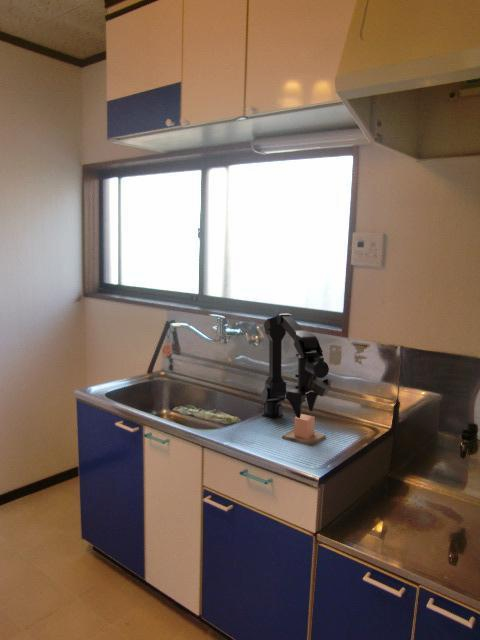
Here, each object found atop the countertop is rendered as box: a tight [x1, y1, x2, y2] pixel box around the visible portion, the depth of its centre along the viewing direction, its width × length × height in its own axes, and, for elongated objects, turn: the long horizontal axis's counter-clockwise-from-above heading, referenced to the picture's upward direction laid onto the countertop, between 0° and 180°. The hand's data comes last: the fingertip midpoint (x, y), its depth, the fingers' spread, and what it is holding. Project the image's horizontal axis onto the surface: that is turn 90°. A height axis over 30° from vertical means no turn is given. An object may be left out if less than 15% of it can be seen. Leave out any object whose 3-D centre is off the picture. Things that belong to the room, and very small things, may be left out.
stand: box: [281, 428, 327, 447], centre depth 179 cm, size 12×10×7 cm
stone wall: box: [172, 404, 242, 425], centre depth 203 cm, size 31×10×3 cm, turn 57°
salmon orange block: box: [293, 413, 315, 439], centre depth 179 cm, size 5×5×7 cm
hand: (304, 414), depth 178 cm, fingers open, 9 cm apart
